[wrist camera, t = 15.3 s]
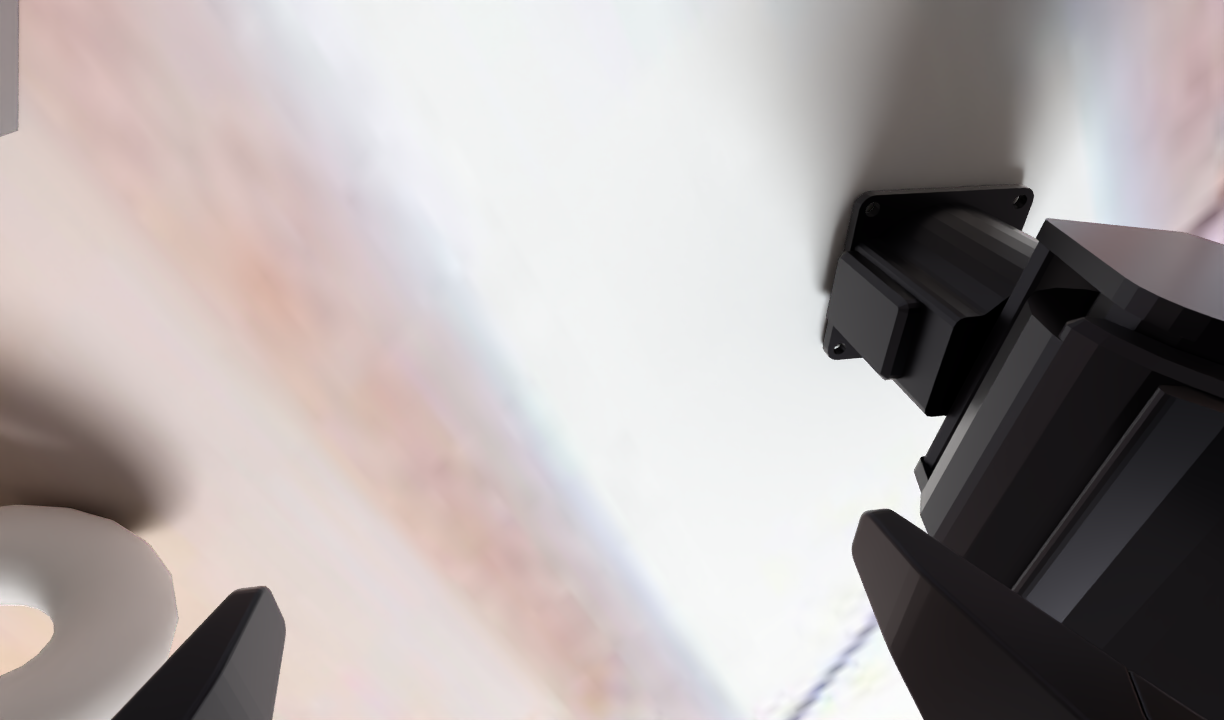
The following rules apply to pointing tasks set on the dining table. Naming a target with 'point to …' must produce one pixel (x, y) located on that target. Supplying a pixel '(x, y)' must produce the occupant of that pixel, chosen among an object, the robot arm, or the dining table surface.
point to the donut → (83, 612)
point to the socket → (8, 66)
